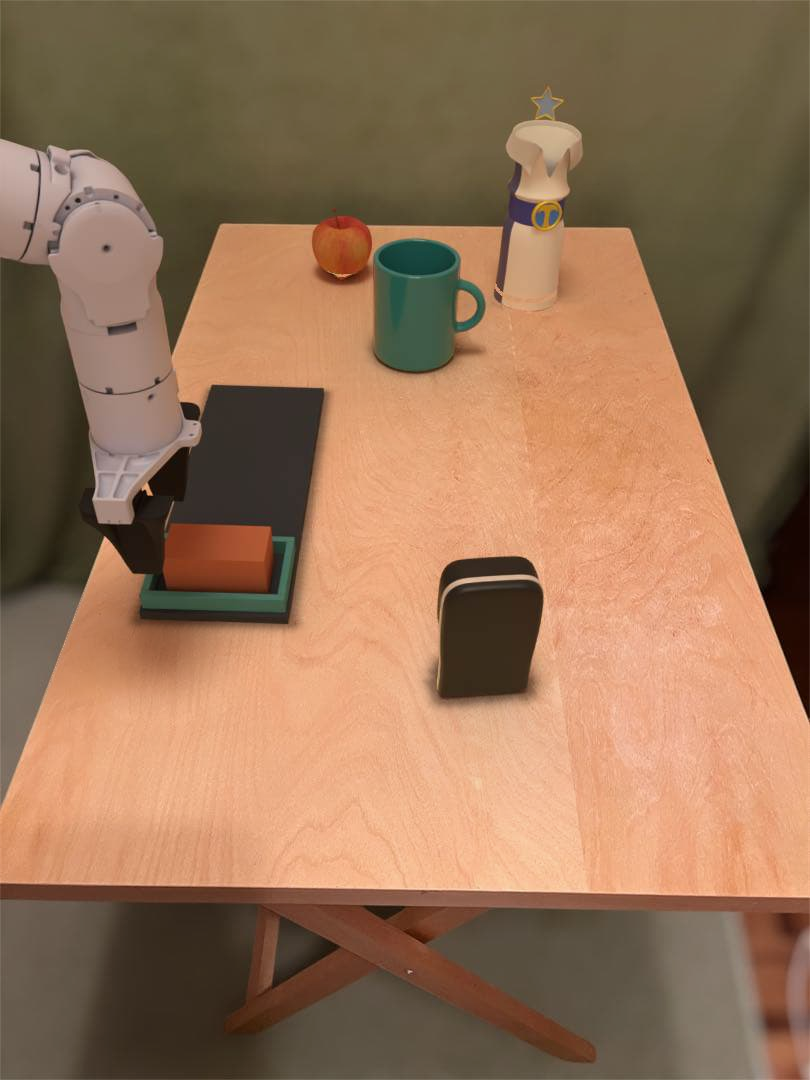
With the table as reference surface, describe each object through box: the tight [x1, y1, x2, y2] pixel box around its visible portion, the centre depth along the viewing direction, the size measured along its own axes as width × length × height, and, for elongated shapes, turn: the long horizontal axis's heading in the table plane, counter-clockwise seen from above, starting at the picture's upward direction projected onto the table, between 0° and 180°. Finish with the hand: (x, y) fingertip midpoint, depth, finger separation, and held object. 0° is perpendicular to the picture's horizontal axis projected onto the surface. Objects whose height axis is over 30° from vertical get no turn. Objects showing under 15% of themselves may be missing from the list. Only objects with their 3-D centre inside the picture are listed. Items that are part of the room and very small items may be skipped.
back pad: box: [138, 384, 325, 625], centre depth 82 cm, size 32×12×2 cm, turn 179°
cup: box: [372, 237, 487, 373], centre depth 97 cm, size 9×12×11 cm
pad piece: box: [163, 523, 275, 594], centre depth 73 cm, size 4×8×4 cm, turn 89°
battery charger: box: [436, 555, 545, 697], centre depth 64 cm, size 7×4×11 cm, turn 96°
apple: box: [311, 207, 373, 281], centre depth 112 cm, size 7×7×8 cm
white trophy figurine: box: [493, 85, 584, 312], centre depth 103 cm, size 8×9×25 cm
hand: (159, 533), depth 65 cm, fingers open, 7 cm apart
